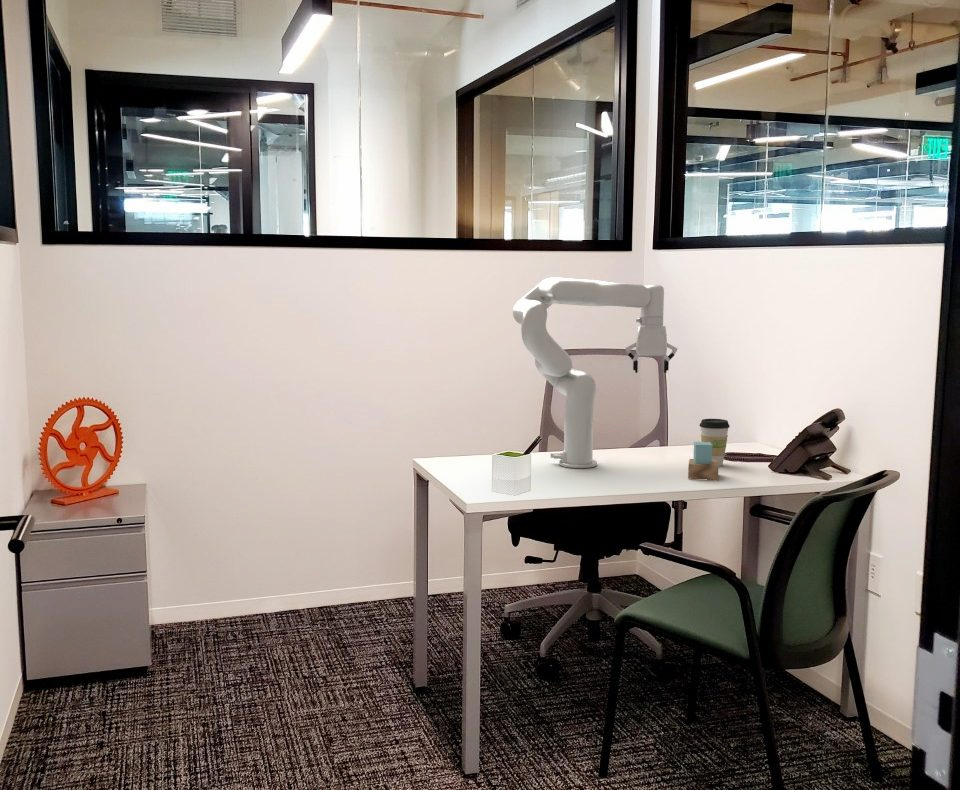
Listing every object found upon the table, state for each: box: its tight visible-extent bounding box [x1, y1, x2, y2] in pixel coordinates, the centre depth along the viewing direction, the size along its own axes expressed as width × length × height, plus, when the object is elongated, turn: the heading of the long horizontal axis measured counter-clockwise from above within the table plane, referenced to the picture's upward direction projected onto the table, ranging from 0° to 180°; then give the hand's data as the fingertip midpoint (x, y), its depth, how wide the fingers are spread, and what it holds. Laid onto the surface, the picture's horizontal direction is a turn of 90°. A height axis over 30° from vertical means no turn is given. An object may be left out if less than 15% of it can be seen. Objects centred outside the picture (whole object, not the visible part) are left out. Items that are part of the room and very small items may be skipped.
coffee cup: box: [698, 418, 730, 468], centre depth 309 cm, size 10×10×15 cm
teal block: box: [692, 441, 712, 464], centre depth 290 cm, size 5×5×6 cm
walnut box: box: [687, 458, 719, 481], centre depth 291 cm, size 9×9×5 cm
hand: (650, 372), depth 313 cm, fingers open, 9 cm apart
